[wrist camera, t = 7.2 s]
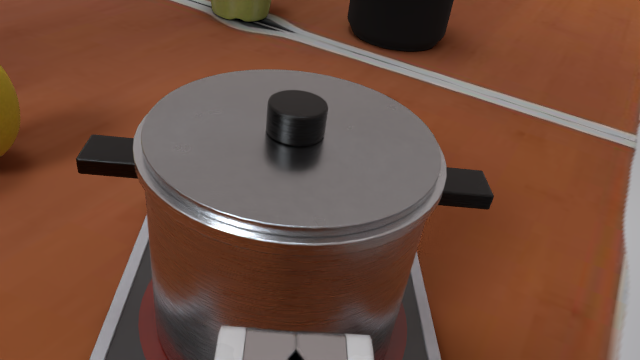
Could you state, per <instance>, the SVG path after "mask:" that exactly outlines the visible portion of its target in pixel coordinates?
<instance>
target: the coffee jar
mask: <svg viewBox="0 0 640 360" xmlns="http://www.w3.org/2000/svg"><path fill="white" fill-rule="evenodd" d="M453 1H454V0H350V5H349V11H348V21H349V23H350V25H351V27H352V30H353V32H354V34H355V35H356V36H357V37H359V38H360V39H361V40H363V41H365V42H368V43H370V44H372V45H375V46H379V47H382V48H386V49H392V50H397V51H423V50H427V49H430V48H432V47H433V46H435V45H436V44H437V42H438V41H440V40H441V39H442V38H443V36H444V35H445V32H446V28H447V24H448V20H449V16H450V12H451V8H452V4H453Z"/></svg>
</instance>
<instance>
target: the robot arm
mask: <svg viewBox="0 0 640 360" xmlns="http://www.w3.org/2000/svg"><path fill="white" fill-rule="evenodd" d="M214 360H374V354H373V345H372V339H371V337H370V335H360V334H344V333H334V332H313V331H296V332H294V331H283V330H272V329H261V328H250V327H236V326H222V325H221V328H220V331H219V334H218V340H217V346H216V352H215V358H214Z"/></svg>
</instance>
